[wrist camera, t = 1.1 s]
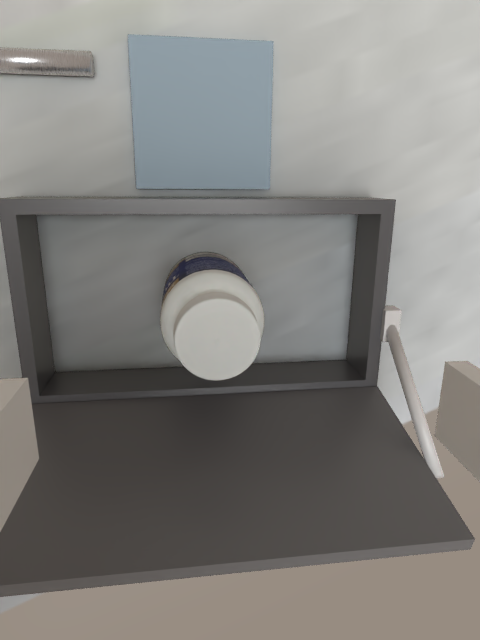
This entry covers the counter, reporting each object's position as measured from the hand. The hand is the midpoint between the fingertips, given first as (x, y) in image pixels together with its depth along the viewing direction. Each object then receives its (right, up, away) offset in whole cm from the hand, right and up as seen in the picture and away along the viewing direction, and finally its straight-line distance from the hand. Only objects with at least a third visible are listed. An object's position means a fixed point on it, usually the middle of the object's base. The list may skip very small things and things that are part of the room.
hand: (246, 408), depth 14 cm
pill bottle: (-3, +5, +16) cm, 17 cm away
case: (-2, +3, +16) cm, 16 cm away
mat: (-2, +15, +12) cm, 19 cm away
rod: (-12, +17, +10) cm, 23 cm away
